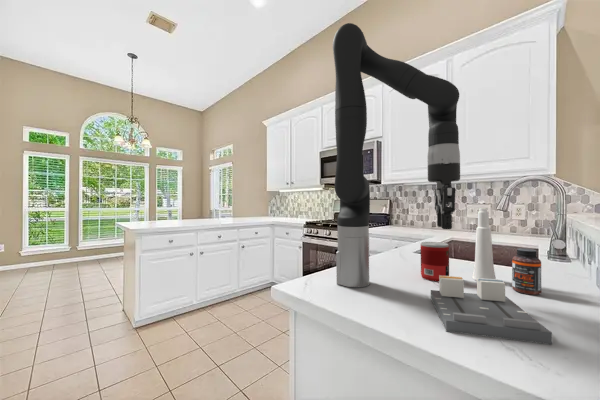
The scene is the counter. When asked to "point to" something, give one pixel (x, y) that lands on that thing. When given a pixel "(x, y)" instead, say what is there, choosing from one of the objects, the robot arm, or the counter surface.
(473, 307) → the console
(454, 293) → the fader
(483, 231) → the cosmetic bottle
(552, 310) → the counter surface
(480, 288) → the fader
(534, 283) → the supplement bottle
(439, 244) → the canned food
